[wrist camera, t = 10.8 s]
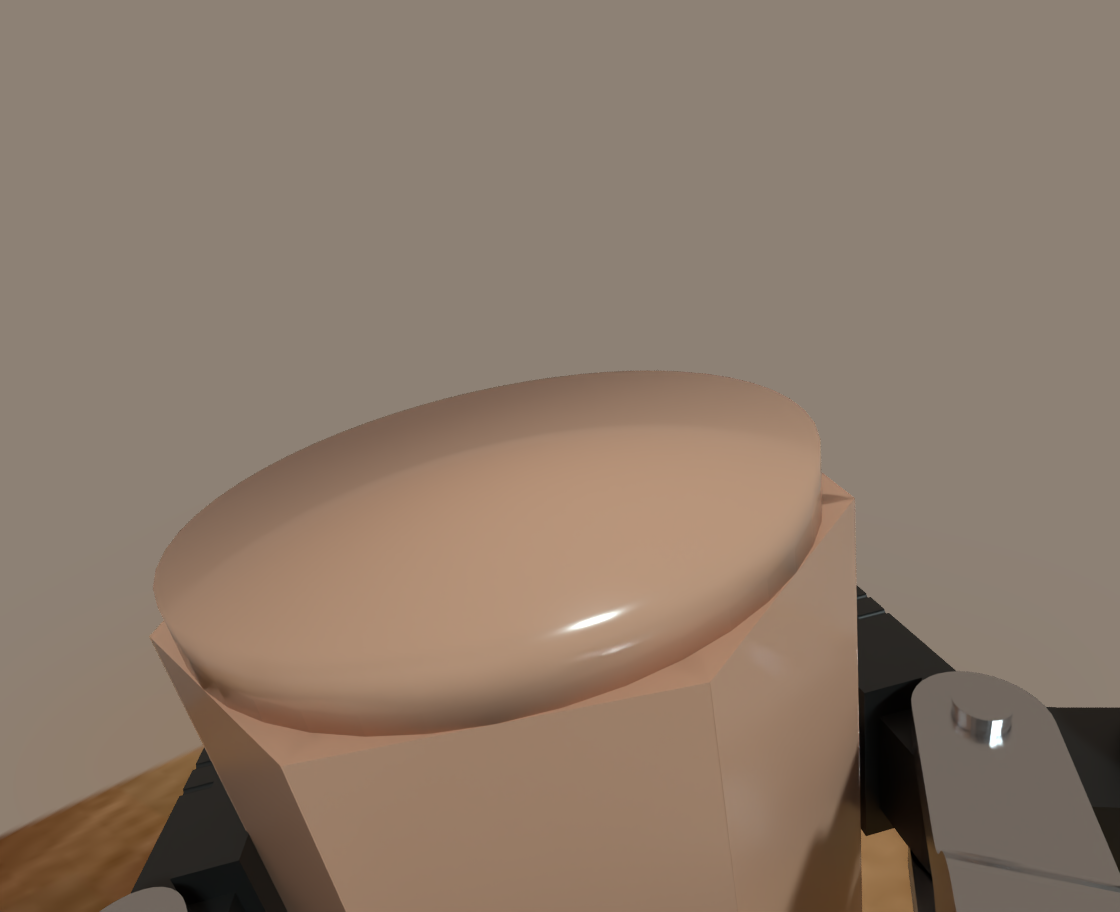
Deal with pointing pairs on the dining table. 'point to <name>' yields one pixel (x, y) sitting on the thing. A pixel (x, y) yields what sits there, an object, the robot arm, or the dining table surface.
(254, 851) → the robot arm
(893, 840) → the dining table surface
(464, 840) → the domed octagonal post
